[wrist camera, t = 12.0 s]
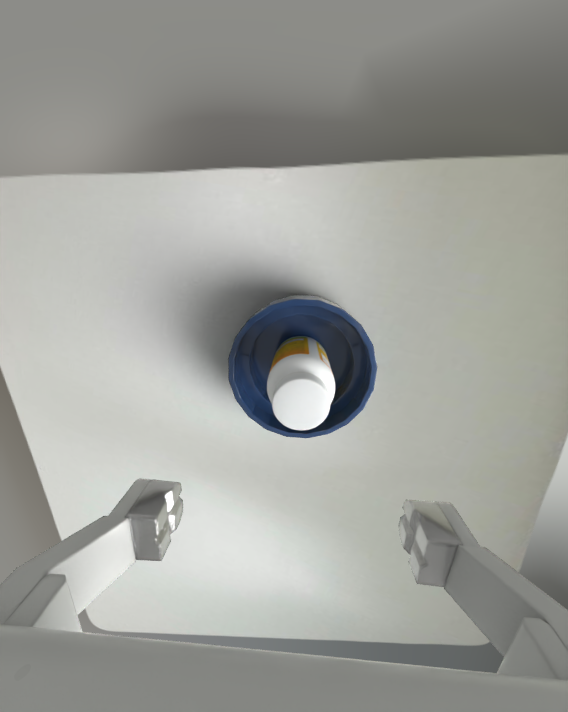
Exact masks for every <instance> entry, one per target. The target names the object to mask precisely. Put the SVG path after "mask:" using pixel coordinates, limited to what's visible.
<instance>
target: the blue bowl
mask: <svg viewBox="0 0 568 712" xmlns="http://www.w3.org/2000/svg"><path fill="white" fill-rule="evenodd" d="M296 336H306V337H310V338H312V339H314V340H316V341H317V342H318V343H320V345H321V346H322V347H323V348H324V350H325V352H326V354H327V358H328V361H329V364H330V367H331V370H332V373H333V376H334V380H335V394H334V398H333V400H332V402H331V404H330V410H329V413H328V415H327V417H326V419H325V420H324V421H323V422H322V423H321V424H320V425H318V426H317V427H315V428H312V429H309V430H294V429H291V428H288V427H286V426H284V425H283V424H282V423H281V422H279V420H278V419H277V418H276V416H275V414H274V412H273V409H272V403H271V401H270V399H269V397H268V393H267V381H268V376H269V373H270V369H271V366H272V362H273V359H274V356H275V353H276V351H277V349H278V347H279V346H280V345H281V344H282V343H283V342H284V341H286V340H287V339H289V338H292V337H296ZM228 362H229V382H230V385H231V388H232V390H233V393H234V396H235V399H236V401H237V402H238V403H239V405H240V406H241V407H242V409H243V410H244V411H245V413H246V414H247V415H248V416H249V417H250V418H251V419H252V420H254V421H255V422H257V423H258V424H259V425H261V426H262V427H263V428H265V429H267V430H269V431H272V432H275V433H278V434H280V435H283V436H286V437H299V438H311V437H316V436H321V435H326V434H328V433H331V432H333V431H335V430H337V429H339V428H341V427H343V426H345V425H347V424H348V423H349V422H350V421H351V420H353V419H354V418H355V417H356V416H357V415H358V414H359V413H360V412H361V411H362V410H363V409H364V407H365V405H366V403H367V401H368V399H369V398H370V396H371V394H372V392H373V389H374V385H375V379H376V373H377V363H376V358H375V352H374V347H373V344H372V342H371V341H370V339H369V337H368V336H367V334H366V332H365V330H364V329H363V327H362V325H361V324H360V323H358V322H357V321H356V320H355V319H354V318H353V317H352V316H350V315H349V314H348V313H347V312H346V311H344V310H343V309H342V308H341V307H340V306H339V305H337V304H336V303H333V302H331V301H328V300H326V299H323V298H321V297H318V296H307V295H292V296H289V297H285V298H281V299H278V300H275V301H273V302H271V303H270V304H268V305H267V306H265V307H264V308H262V309H261V310H259V311H258V312H256V313H255V314H254V315H253V316H252V317H251V318H250V319H249V320H248V321H247V323H246V324H245V325H244V327H243V328H242V329H241V330H240V332H239V333H238V334H237V336H236V337H235V340H234V343H233V346H232V349H231V352H230V355H229V359H228Z"/></svg>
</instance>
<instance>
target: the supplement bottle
mask: <svg viewBox="0 0 568 712" xmlns="http://www.w3.org/2000/svg"><path fill="white" fill-rule="evenodd" d="M267 393H268V397H269V399H270V401H271V403H272V409H273V412H274V414H275V416H276V418H277V419H278V420H279V422H281V423H282V424H283V425H284V426H286V427H288V428H291V429H294V430H309V429H312V428H315V427H317V426H318V425H320V424H321V423H322V422H323V421H324V420H325V419H326V417H327V415H328V413H329V410H330V404H331V402H332V400H333V398H334V394H335V380H334V376H333V373H332V370H331V367H330V364H329V361H328V358H327V354H326V352H325V350H324V348H323V347H322V346H321V345H320V343H318V342H317V341H316V340H314V339H312V338H310V337H306V336H296V337H292V338H289V339H287V340H286V341H284V342H283V343H282V344H281V345H280V346H279V347H278V349H277V351H276V353H275V356H274V359H273V362H272V366H271V369H270V373H269V376H268V381H267Z"/></svg>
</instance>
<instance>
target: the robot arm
mask: <svg viewBox="0 0 568 712" xmlns="http://www.w3.org/2000/svg"><path fill="white" fill-rule="evenodd" d="M181 491H182V489H181V483H179V482H172V481H162V480H149V479H138V480H136V481H135V482H134V483H133V485H132V486H131V487H130V489H129V490H128V491H127V492H126V494H125V495H124V496H123V498H122V499H121V500H120V501H119V503H118V504H117V505H116V507H115V508H114V509H113V510H112V512H111V513H110V514H109V516H103V517H101V518H99V519H98V520H96V521H94V522H93V523H91V524H89V525H88V526H86V527H84V528H83V529H81V530H79V531H78V532H76V533H74V534H73V535H71V536H69V537H68V538H66V539H64V540H63V541H61V542H59V543H58V544H56V545H55V546H53V547H51V548H49V549H48V550H46V551H44V552H43V553H41V554H39V555H38V556H36V557H34V558H33V559H31V560H29V561H28V562H26V563H25V564H23V565H21V566H19V567H18V568H16V569H15V570H14V571H13V572H12V573H11V574H10V575H9V576H8V577H7V579H6V580H5V581H4V582H3V583H2V584H1V585H0V712H568V610H567V609H565V608H564V607H563V606H562V605H560V604H559V603H558V602H556V601H555V600H554V599H552V598H551V597H550V596H548V595H547V594H546V593H545V592H543V591H542V590H541V589H539V588H538V587H537V586H535V585H534V584H533V583H531V582H530V581H529V580H527V579H526V578H525V577H524V576H522V575H521V574H520V573H518V572H517V571H516V570H514V569H513V568H512V567H510V566H509V565H508V564H506V563H505V562H504V561H503V560H501V559H500V558H499V557H497V556H496V555H495V554H493V553H492V552H491V551H489V550H488V549H487V548H485V547H480V545H479V544H478V542H477V541H476V539H475V538H474V536H473V534H472V533H471V531H470V530H469V528H468V527H467V525H466V524H465V522H464V521H463V519H462V518H461V516H460V515H459V513H458V512H457V510H456V509H455V507H454V506H453V505H452V504H451V503H450V502H433V501H419V500H405V502H404V504H403V510H404V513H405V514H404V515H403V516H402V517H400V521H399V535H400V539H401V543H402V546H403V548H404V549H405V550H406V551H407V552H408V553H409V554H410V558H409V564H410V567H411V570H412V572H413V575H414V578H415V580H416V583H417V584H423V585H431V586H439V587H444V589H445V590H446V591H447V592H448V594H449V595H450V596H451V597H452V598H453V599H454V601H455V602H456V603H457V604H458V605H459V606H460V607H461V609H462V610H463V611H464V612H465V613H466V614H467V615H468V617H469V618H470V619H471V620H472V621H473V622H474V623H475V625H476V626H477V627H478V628H479V629H480V630H481V631H482V633H483V634H484V635H485V636H486V637H487V638H488V639H489V641H490V642H491V643H492V644H493V645H494V646H495V647H496V648H497V650H498V651H499V652H500V653H501V654H502V655H503V657H504V659H503V662H502V663H501V665H500V667H499V669H498V672H497V673H488V672H478V671H467V670H458V669H448V668H438V667H428V666H418V665H408V664H398V663H388V662H377V661H368V660H358V659H348V658H338V657H327V656H317V655H307V654H298V653H288V652H287V653H286V652H277V651H266V650H257V649H247V648H237V647H227V646H217V645H207V644H197V643H187V642H176V641H166V640H156V639H146V638H136V637H125V636H116V635H106V634H96V633H86V632H82V628H81V625H80V622H79V619H78V614H79V613H80V612H81V611H82V610H84V609H85V608H86V607H87V606H88V605H89V604H90V603H91V602H92V601H93V600H94V599H96V598H97V597H98V596H99V595H100V594H101V593H102V592H103V591H104V590H105V589H106V588H107V587H109V586H110V585H111V584H112V583H113V582H114V581H115V580H116V579H117V578H118V577H119V576H121V575H122V574H123V573H124V572H125V571H126V570H127V569H128V568H129V567H130V566H131V565H133V564H134V563H135V562H136V560H151V561H162V559H163V557H164V555H165V553H166V550H167V548H168V546H169V544H170V542H171V539H170V534H171V533H172V532H174V531H175V530H176V529H177V527H178V525H179V523H180V520H181V516H182V512H183V500H182V499H181V498H180V497H179V495H180V493H181Z"/></svg>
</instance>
